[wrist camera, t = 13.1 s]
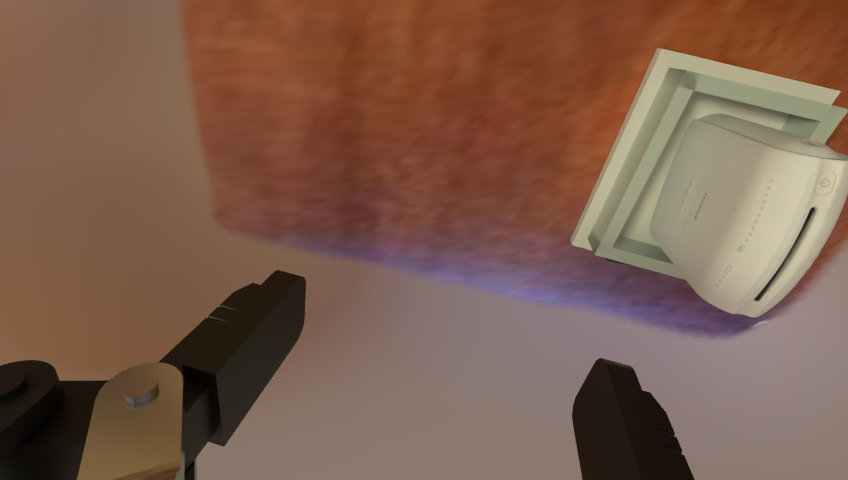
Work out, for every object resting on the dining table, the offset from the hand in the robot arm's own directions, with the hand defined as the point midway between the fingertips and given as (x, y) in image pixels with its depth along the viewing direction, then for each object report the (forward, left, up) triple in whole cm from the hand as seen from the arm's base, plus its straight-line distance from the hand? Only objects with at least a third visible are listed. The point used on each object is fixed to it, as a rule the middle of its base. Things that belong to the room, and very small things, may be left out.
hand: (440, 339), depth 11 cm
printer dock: (-1, +16, -25) cm, 30 cm away
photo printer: (-1, +16, -25) cm, 30 cm away
